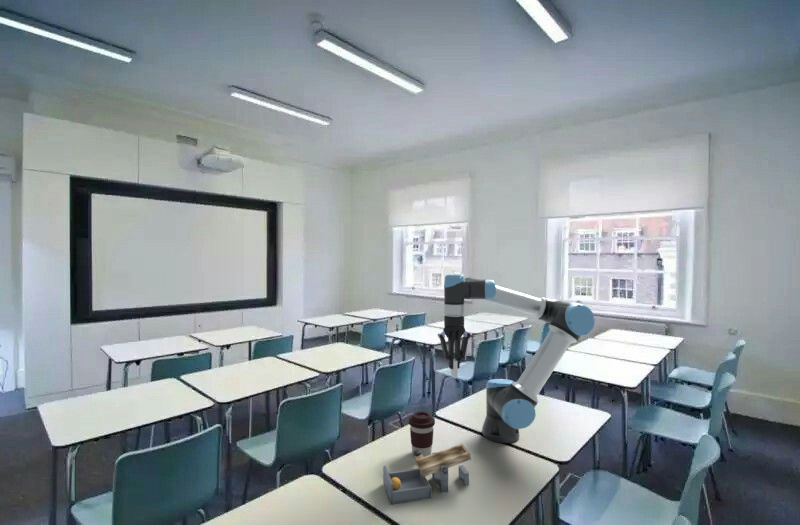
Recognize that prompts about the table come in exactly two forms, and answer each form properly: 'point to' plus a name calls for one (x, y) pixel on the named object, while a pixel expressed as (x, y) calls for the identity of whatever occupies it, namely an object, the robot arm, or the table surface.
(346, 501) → the table surface
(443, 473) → the fulcrum
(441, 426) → the table surface
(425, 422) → the coffee cup
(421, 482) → the tray
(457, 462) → the lever
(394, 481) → the ball
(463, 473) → the post
